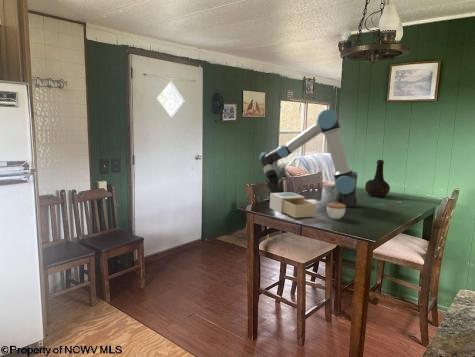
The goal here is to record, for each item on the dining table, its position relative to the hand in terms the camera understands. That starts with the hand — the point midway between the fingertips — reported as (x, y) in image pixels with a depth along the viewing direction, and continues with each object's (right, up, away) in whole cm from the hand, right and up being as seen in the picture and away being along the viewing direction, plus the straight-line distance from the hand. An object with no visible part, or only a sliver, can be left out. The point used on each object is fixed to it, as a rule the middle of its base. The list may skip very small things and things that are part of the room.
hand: (281, 202), depth 230 cm
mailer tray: (+5, -4, -13) cm, 14 cm away
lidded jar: (+29, -8, -19) cm, 35 cm away
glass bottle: (+79, +2, +50) cm, 94 cm away
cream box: (+2, -4, -5) cm, 7 cm away
